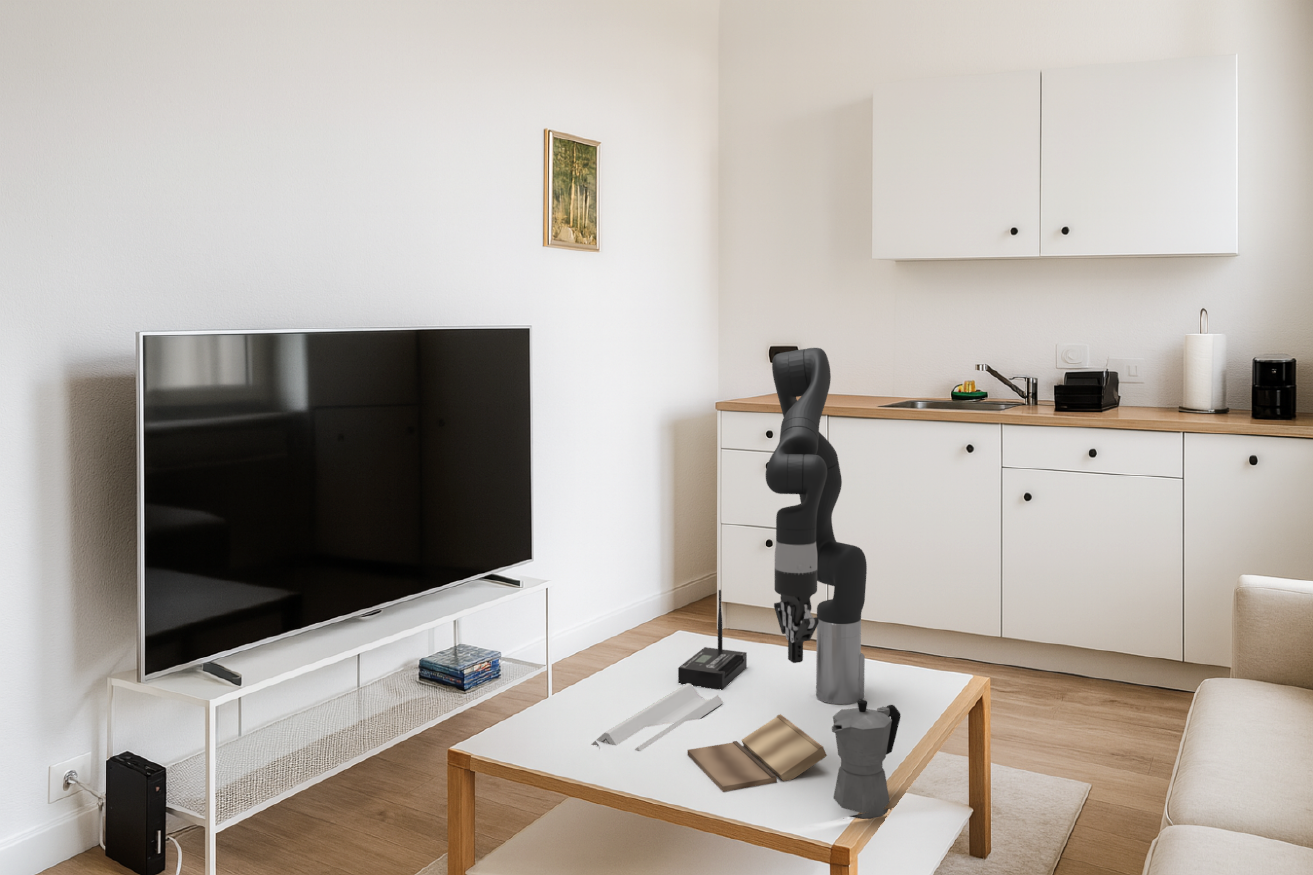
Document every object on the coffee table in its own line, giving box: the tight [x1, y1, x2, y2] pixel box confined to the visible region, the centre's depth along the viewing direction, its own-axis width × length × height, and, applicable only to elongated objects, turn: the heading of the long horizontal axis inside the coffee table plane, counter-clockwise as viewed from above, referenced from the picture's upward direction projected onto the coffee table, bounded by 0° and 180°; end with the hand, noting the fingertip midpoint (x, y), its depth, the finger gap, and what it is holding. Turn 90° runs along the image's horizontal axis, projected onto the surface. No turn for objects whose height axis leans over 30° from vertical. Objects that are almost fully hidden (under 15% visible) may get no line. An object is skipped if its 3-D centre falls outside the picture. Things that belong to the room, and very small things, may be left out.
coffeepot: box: [831, 699, 902, 820], centre depth 166 cm, size 15×9×18 cm, turn 125°
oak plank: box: [740, 713, 828, 782], centre depth 182 cm, size 16×9×2 cm, turn 20°
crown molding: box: [590, 683, 724, 752], centre depth 203 cm, size 31×12×4 cm, turn 148°
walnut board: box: [687, 740, 778, 793], centre depth 179 cm, size 10×16×2 cm, turn 20°
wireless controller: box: [677, 589, 748, 691], centre depth 231 cm, size 20×14×17 cm
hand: (795, 661), depth 181 cm, fingers closed
